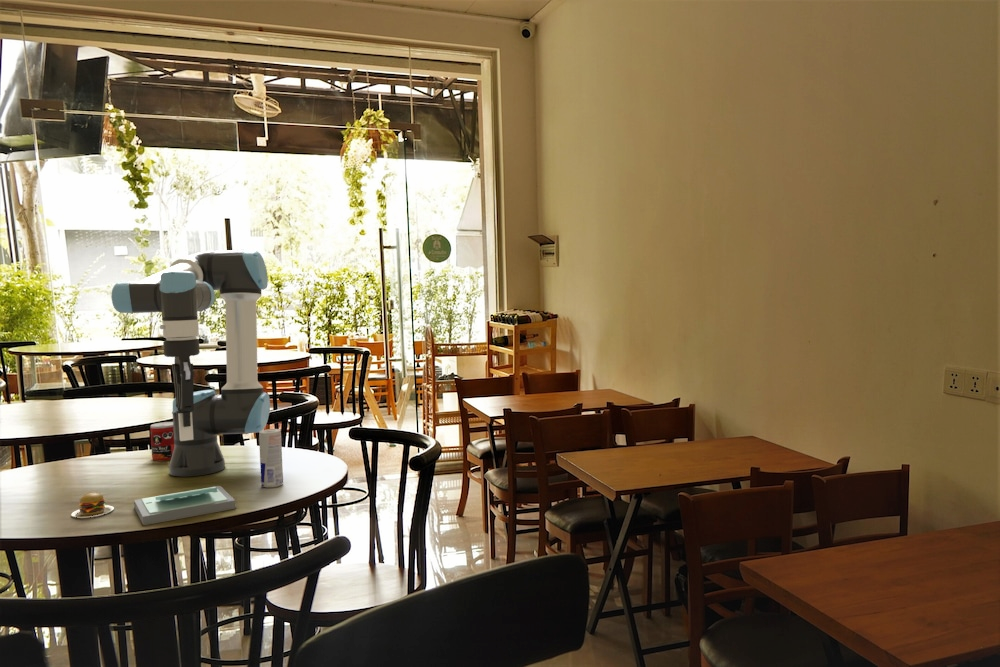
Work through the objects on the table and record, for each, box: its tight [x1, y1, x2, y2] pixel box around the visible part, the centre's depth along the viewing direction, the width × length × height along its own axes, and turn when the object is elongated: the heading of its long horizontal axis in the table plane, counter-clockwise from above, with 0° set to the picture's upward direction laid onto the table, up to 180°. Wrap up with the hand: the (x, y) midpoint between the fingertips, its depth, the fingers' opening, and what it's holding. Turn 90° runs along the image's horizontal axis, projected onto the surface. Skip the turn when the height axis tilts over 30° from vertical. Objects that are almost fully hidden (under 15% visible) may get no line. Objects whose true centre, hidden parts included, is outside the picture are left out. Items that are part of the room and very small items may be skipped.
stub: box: [154, 487, 217, 501], centre depth 169 cm, size 1×12×10 cm
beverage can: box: [258, 428, 284, 489], centre depth 189 cm, size 6×6×15 cm
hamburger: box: [70, 492, 115, 519], centre depth 169 cm, size 12×12×6 cm
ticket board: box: [133, 485, 237, 526], centre depth 171 cm, size 16×20×2 cm
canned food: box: [150, 421, 174, 462], centre depth 225 cm, size 8×8×11 cm
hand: (186, 439), depth 164 cm, fingers closed
